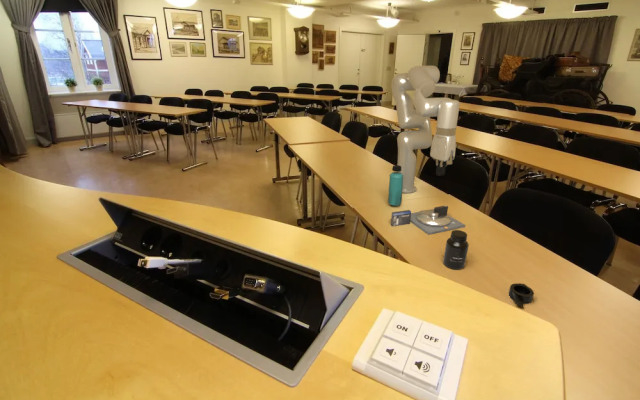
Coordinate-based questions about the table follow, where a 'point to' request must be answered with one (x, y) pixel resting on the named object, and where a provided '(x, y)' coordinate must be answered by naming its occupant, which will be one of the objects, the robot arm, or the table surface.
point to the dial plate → (432, 230)
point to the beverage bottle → (395, 186)
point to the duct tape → (521, 294)
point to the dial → (434, 217)
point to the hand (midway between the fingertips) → (440, 174)
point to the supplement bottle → (456, 250)
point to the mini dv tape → (400, 218)
